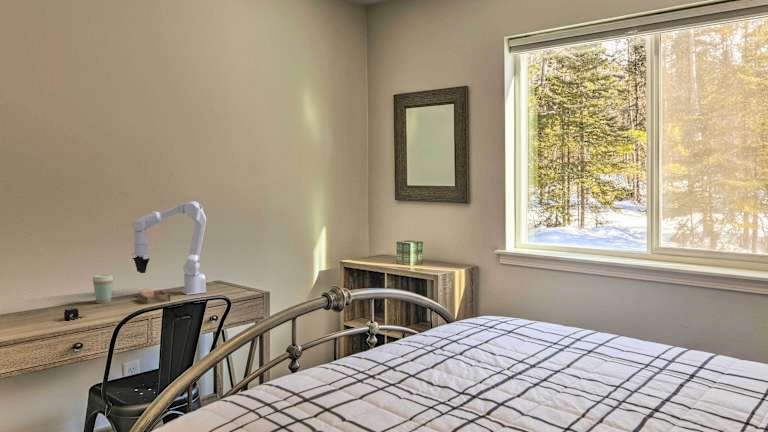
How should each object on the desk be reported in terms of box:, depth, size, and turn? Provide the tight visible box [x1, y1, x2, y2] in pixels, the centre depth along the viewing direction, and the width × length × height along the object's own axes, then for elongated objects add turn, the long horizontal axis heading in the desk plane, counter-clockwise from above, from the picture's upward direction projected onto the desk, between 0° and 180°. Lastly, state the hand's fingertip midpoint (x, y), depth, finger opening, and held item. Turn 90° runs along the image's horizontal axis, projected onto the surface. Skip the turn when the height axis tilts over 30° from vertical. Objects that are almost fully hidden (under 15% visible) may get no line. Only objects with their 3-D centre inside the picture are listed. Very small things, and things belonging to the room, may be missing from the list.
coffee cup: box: [91, 273, 114, 305], centre depth 266 cm, size 9×8×12 cm
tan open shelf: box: [137, 290, 171, 305], centre depth 271 cm, size 11×11×3 cm
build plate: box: [56, 307, 85, 322], centre depth 237 cm, size 12×7×5 cm, turn 157°
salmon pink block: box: [138, 288, 155, 297], centre depth 279 cm, size 5×6×3 cm
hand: (141, 272), depth 283 cm, fingers open, 4 cm apart
